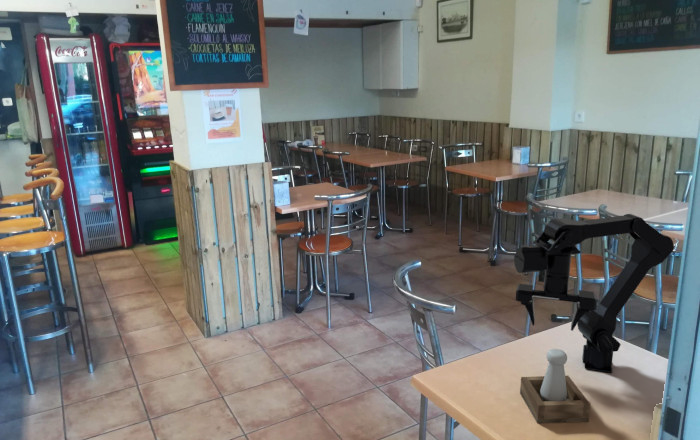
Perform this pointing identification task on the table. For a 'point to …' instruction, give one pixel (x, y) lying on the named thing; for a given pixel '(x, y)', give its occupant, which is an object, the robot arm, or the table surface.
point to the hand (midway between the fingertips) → (552, 327)
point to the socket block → (554, 402)
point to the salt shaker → (555, 377)
